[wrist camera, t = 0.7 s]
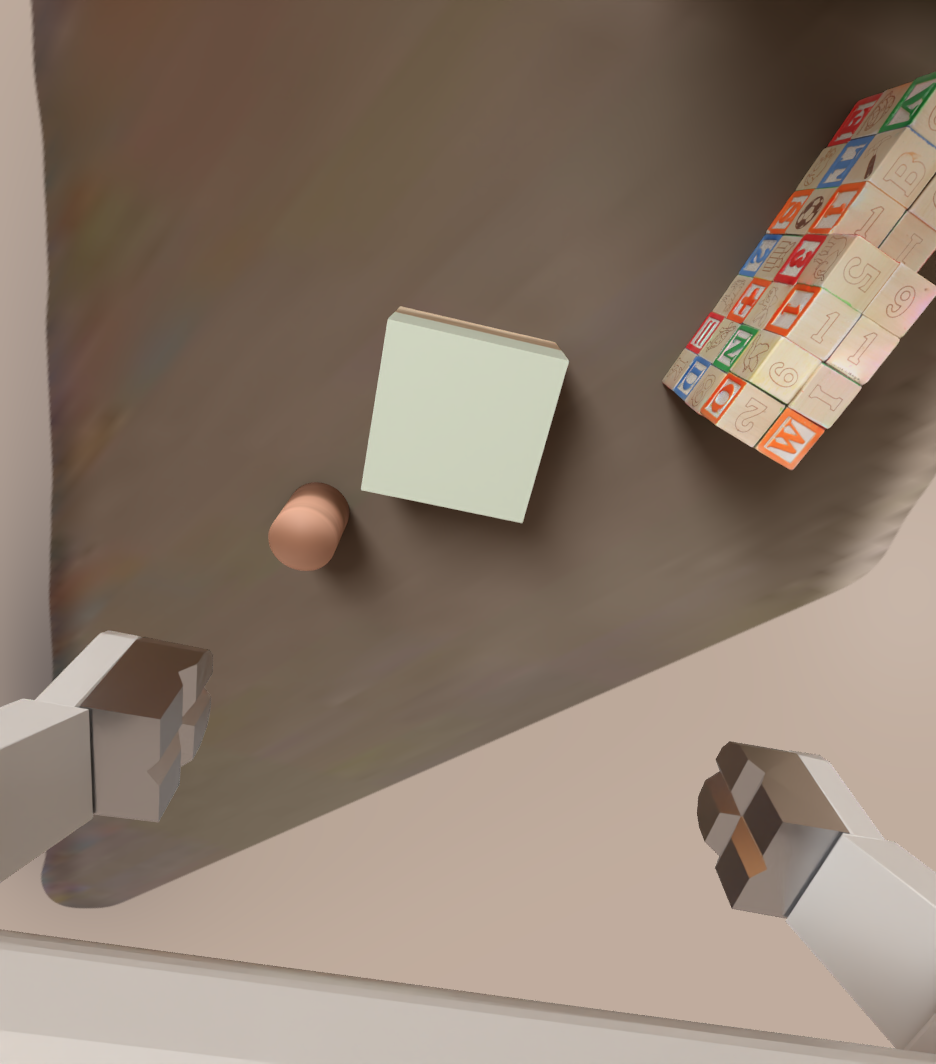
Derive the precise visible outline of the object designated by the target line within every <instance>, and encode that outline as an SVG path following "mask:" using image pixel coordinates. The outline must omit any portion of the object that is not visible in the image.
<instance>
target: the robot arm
mask: <svg viewBox="0 0 936 1064" xmlns="http://www.w3.org/2000/svg"><path fill="white" fill-rule="evenodd" d="M212 673H213V654H212V652H211V651H210V650H208V649H203V648H198V647H193V646H188V645H183V644H178V643H173V642H168V641H163V640H158V639H153V638H148V637H140V636H136V635H130V634H125V633H120V632H114V631H106V632H103V633H100V634H99V635H98V636H97V637H96V638H95V639H94V640H93V641H92V642H91V643H90V644H89V645H88V646H87V647H86V648H85V649H84V650H83V651H82V652H81V653H80V654H79V655H78V656H77V657H76V658H75V659H74V660H73V661H72V662H71V663H70V664H69V665H68V666H67V667H66V669H65V670H64V671H63V672H62V673H61V674H60V675H59V676H58V677H57V678H56V679H55V680H54V681H53V682H52V683H51V684H50V685H49V686H48V687H47V688H46V689H45V690H44V691H43V692H42V693H41V694H40V695H39V696H38V697H37V698H36V699H35V700H29V699H21V700H18V701H16V702H13V703H11V704H8V705H5V706H3V707H0V883H1V882H2V881H4V880H5V879H6V878H8V877H9V876H11V875H12V874H14V873H15V872H16V871H18V870H19V869H21V868H22V867H24V866H25V865H26V864H28V863H29V862H31V861H32V860H34V859H35V858H37V857H38V856H39V855H41V854H42V853H44V852H45V851H47V850H48V849H49V848H51V847H52V846H54V845H55V844H57V843H58V842H59V841H61V840H62V839H64V838H65V837H67V836H68V835H69V834H71V833H72V832H74V831H75V830H77V829H78V828H80V827H81V826H82V825H84V824H85V823H87V822H88V821H90V820H91V819H92V818H93V814H95V815H103V816H111V817H119V818H128V819H136V820H144V821H152V822H159V820H160V818H161V817H162V815H163V813H164V811H165V809H166V808H167V806H168V804H169V802H170V800H171V799H172V797H173V795H174V793H175V791H176V789H177V788H178V786H179V784H180V767H181V766H183V765H185V764H186V763H188V762H190V761H191V760H193V758H194V756H195V754H196V752H197V750H198V749H199V747H200V745H201V742H202V739H203V736H204V733H205V730H206V728H207V724H208V719H209V714H210V707H211V696H210V694H209V693H208V691H207V690H206V688H205V685H206V683H207V682H208V680H209V678H210V677H211V675H212ZM716 762H717V765H718V767H719V770H720V771H719V772H718V773H716V774H715V775H713V776H712V777H710V778H708V779H707V780H706V781H705V782H704V785H703V787H702V789H701V792H700V794H699V797H698V808H697V816H698V822H699V828H700V830H701V833H702V836H703V838H704V841H705V842H706V843H707V844H708V845H709V846H710V847H711V848H712V849H713V850H714V851H715V852H716V853H717V854H718V855H719V859H718V861H717V864H716V867H715V869H716V871H717V873H718V876H719V878H720V881H721V883H722V886H723V888H724V891H725V893H726V896H727V898H728V900H729V902H730V905H731V908H732V909H736V910H743V911H747V912H753V913H758V914H764V915H770V916H775V917H781V918H786V919H787V920H786V922H787V924H788V925H789V926H790V927H791V928H792V929H793V930H794V932H795V933H796V934H797V935H798V936H799V937H800V939H801V940H802V941H803V942H804V943H805V944H806V946H807V947H808V948H809V949H810V950H811V951H812V952H813V953H814V955H815V956H816V957H817V958H818V959H819V960H820V962H821V963H822V964H823V965H824V966H825V967H826V968H827V970H828V971H829V972H830V973H831V974H832V975H833V976H834V978H835V979H836V980H837V981H838V982H839V983H840V985H841V986H842V987H843V988H844V989H845V990H846V991H847V993H848V994H849V995H850V996H851V997H852V998H853V1000H854V1001H855V1002H856V1003H857V1004H858V1005H859V1006H860V1007H861V1009H862V1010H863V1011H864V1012H865V1013H866V1015H867V1016H868V1017H869V1018H870V1019H871V1020H872V1021H873V1023H874V1024H875V1025H876V1026H877V1027H878V1028H879V1029H880V1031H881V1032H882V1033H883V1034H884V1035H885V1036H886V1037H887V1039H888V1040H889V1041H890V1042H891V1043H892V1044H893V1046H894V1047H895V1048H896V1049H894V1048H886V1047H879V1046H872V1045H864V1044H857V1043H849V1042H842V1041H834V1040H827V1039H820V1038H812V1037H805V1036H796V1035H789V1034H782V1033H774V1032H767V1031H759V1030H751V1029H743V1028H736V1027H729V1026H721V1025H714V1024H706V1023H698V1022H691V1021H683V1020H675V1019H668V1018H660V1017H652V1016H645V1015H638V1014H630V1013H622V1012H615V1011H607V1010H600V1009H593V1008H584V1007H577V1006H570V1005H562V1004H555V1003H546V1002H540V1001H533V1000H525V999H518V998H510V997H502V996H495V995H487V994H480V993H473V992H466V991H458V990H450V989H443V988H436V987H427V986H421V985H413V984H406V983H398V982H391V981H383V980H376V979H368V978H361V977H353V976H346V975H338V974H331V973H323V972H316V971H308V970H301V969H293V968H286V967H278V966H270V965H263V964H255V963H248V962H241V961H233V960H225V959H218V958H211V957H202V956H195V955H188V954H180V953H173V952H166V951H158V950H150V949H142V948H135V947H128V946H120V945H113V944H105V943H98V942H90V941H83V940H75V939H68V938H60V937H52V936H45V935H37V934H30V933H23V932H15V931H8V930H0V1064H936V872H934V871H933V870H932V869H930V868H929V867H928V866H926V865H925V864H924V863H922V862H921V861H920V860H918V859H917V858H916V857H914V856H913V855H912V854H910V853H909V852H908V851H906V850H905V849H904V848H902V847H901V846H899V845H898V844H897V843H896V842H892V841H886V840H885V839H884V838H883V836H882V835H881V833H880V832H879V831H878V829H877V828H876V826H875V825H874V824H873V822H872V821H871V819H870V818H869V817H868V815H867V814H866V813H865V811H864V810H863V808H862V807H861V805H860V804H859V803H858V801H857V800H856V799H855V797H854V796H853V794H852V793H851V791H850V790H849V789H848V787H847V786H846V785H845V783H844V782H843V780H842V779H841V778H840V776H839V775H838V773H837V772H836V770H835V769H834V768H833V766H832V765H831V763H830V762H829V761H828V760H826V759H825V758H823V757H822V756H820V755H816V754H809V753H802V752H796V751H783V750H777V749H772V748H766V747H760V746H754V745H748V744H742V743H736V742H728V743H727V744H726V745H725V746H723V747H722V749H721V751H720V753H719V754H718V756H717V758H716Z"/></svg>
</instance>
